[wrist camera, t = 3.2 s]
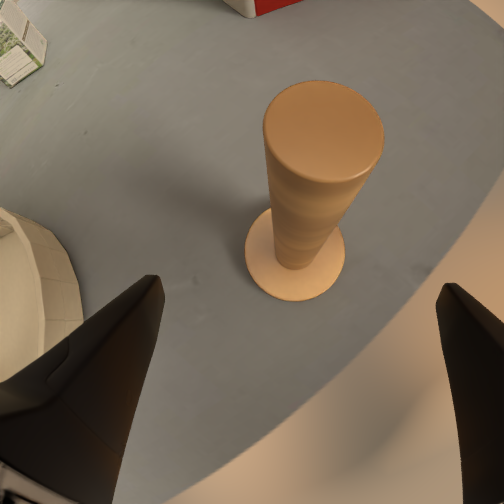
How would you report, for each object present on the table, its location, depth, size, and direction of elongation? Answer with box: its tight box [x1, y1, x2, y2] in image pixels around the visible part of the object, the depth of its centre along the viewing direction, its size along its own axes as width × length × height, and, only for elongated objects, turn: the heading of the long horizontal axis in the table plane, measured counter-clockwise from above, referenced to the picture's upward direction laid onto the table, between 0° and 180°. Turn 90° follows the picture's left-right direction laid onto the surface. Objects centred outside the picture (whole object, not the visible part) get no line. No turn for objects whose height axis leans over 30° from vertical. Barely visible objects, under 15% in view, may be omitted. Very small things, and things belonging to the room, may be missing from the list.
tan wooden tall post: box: [244, 81, 384, 302], centre depth 13 cm, size 6×6×15 cm
